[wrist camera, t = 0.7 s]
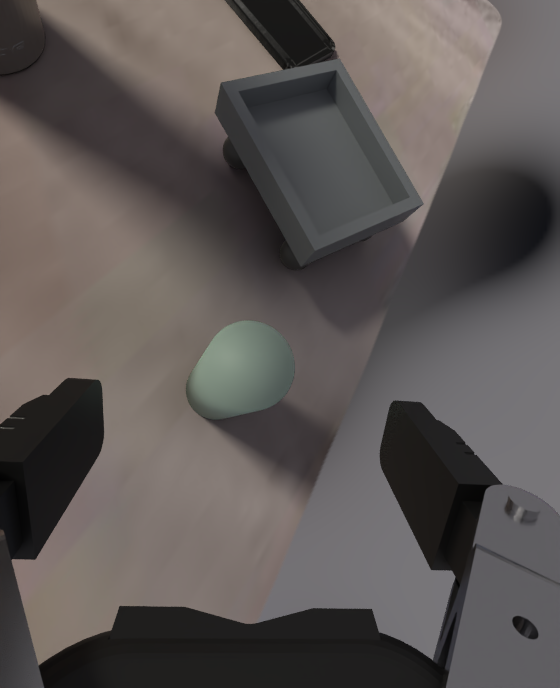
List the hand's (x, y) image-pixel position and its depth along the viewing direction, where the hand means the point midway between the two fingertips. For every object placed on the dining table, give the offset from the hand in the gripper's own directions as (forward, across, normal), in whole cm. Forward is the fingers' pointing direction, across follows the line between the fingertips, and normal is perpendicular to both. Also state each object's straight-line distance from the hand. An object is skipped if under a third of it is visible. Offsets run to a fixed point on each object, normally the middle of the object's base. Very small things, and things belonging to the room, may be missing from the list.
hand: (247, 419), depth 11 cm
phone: (+44, 0, -26) cm, 51 cm away
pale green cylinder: (+20, +2, +9) cm, 22 cm away
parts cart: (+32, -4, -7) cm, 33 cm away
